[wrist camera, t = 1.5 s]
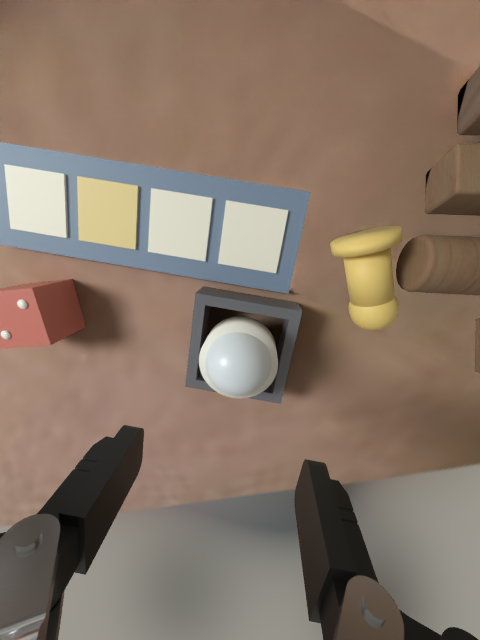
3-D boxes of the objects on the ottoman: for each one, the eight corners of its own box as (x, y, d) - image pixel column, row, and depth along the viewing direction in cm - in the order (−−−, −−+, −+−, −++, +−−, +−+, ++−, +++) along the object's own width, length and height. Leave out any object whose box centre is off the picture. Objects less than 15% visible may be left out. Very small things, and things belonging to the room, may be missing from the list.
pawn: (317, 246, 20) (333, 332, 22) (369, 244, 16) (381, 348, 18) (359, 228, 21) (370, 311, 24) (416, 222, 17) (422, 322, 20)
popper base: (297, 302, 22) (302, 311, 20) (278, 385, 25) (280, 403, 22) (203, 286, 23) (195, 293, 20) (193, 370, 25) (185, 386, 22)
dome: (282, 321, 21) (288, 345, 16) (268, 384, 22) (270, 422, 18) (210, 309, 21) (196, 329, 16) (202, 372, 22) (187, 407, 18)
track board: (308, 193, 20) (311, 191, 19) (287, 291, 22) (288, 294, 21) (-3, 143, 20) (-16, 139, 20) (7, 244, 23) (-4, 244, 22)
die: (73, 278, 23) (30, 288, 19) (86, 326, 25) (49, 345, 20) (26, 283, 24) (-25, 293, 19) (42, 330, 25) (-3, 349, 21)
